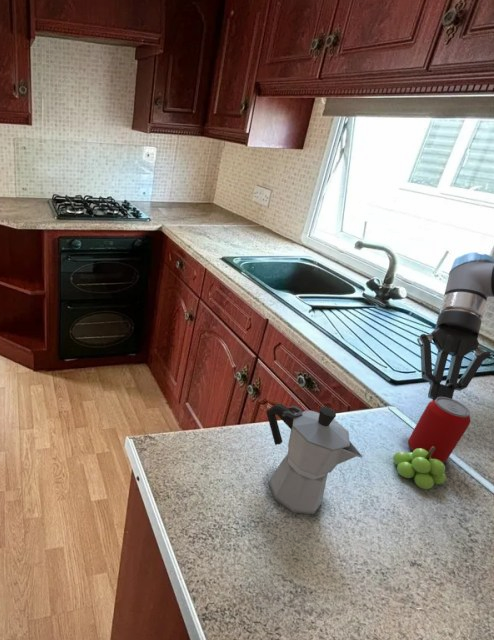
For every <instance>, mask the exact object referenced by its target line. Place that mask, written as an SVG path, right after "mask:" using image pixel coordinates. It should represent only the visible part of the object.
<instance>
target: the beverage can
mask: <svg viewBox="0 0 494 640" xmlns="http://www.w3.org/2000/svg"><path fill="white" fill-rule="evenodd" d="M432 400H433V399H432ZM432 400H431V401H429V402H428V404H427V405H426V407H425V409H424V410H423V412H422V414H421V415H420V418H419V420H418V421H417V423H416V425H415V427H414V429H413V430H412V432H411V434H410V436H409V438H408V439H407V440H408V441H407V444H408V446H409V448H410V449H411V450H412V452H413V451H414V450H415V449H418V448H422V449H425V450H426V451H428V452H429V450H430V449H431V447H435V450H434V452H433V454H432V455H431V459H437V460H440V461H441V462H442V463H445V462H447V460H448V459H449V458H450V456H451V455H452V453H453V452H454V450H455V448H456V447H457V446H458V444H459V442H460V440H461V439H462V437H463V436H464V434H465V432H466V431H467V429H468V428H469V426H470V424H471V410H470V409H469V408H468V407H467V406H466V405H464V404H463V403H462V402H460V401H458V400H456V399H453V398H452V399H450V398H447V397H438V398H436V399H435V400H433V401H432Z"/></svg>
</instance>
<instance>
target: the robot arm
mask: <svg viewBox="0 0 494 640" xmlns="http://www.w3.org/2000/svg"><path fill="white" fill-rule="evenodd" d="M489 297H491V298H494V258H493V256H491V255H489V254H487V253H478V252H476V251H475V252H473V251H472V252H466V253H463V254H460V255H458V256H457V257H456V258H455V259H454V261H453V262H452V266H451V268H450V271H449V273H448V278H447V282H446V286H445V291H444V294H443V298H442V302H441V304H440V309H439V314H438V315H437V320H436V324H435V327H434V329H433V330H432V332H431V333H429V334H426V333H422V334H421V335H419V336H418V337H417V338H416V342H417V343H418V345H419V348H420V367H421V368H420V370H421V373H420V374H421V378H422V379H423V380H426V381H427V382H429V383H428V384H429V389H428V392H427V397H428V399H431V401H433V400H435V399H436V398H438V397H447V398H450V399H453V398H454V393H455V391H463V390H464V389H465V390H466V388H468V386H469V384H470V383H471V382H472V380H473V378H474V377H475V375H476V374H477V372H478V370H479V368H481V365H482V363H483V362H484V361H486V360H487V359H489V358H490V357H491V356H492V355H491V354H492V353H491V352H489V351H484V350H483V348H481V347H480V342H479V335H480V331H481V326H482V319H483V318H484V313H485V309H486V306H487V305H486V304H487V301H488V298H489ZM432 343H433V344H434V346H435V348H436V350H437V353H436V359H435V364H434V368H433V362H432V360H433V359H432ZM472 352H473V354H472V358H473V359H472V360H471V361H470V363H469V364H468V366H467V367H466V368H465V370H464V372H463V373H462V375H461V377H460V373H461V368H462V364H463V360H464V358H465V356H467V355H468V354H470V353H472ZM449 356H450V362H449V363H450V364H449V367H448V372H447V376H446V380H445V384H442V381H443V376H444V373H445V369H446V365H447V361H448V358H449ZM459 377H460V378H459Z"/></svg>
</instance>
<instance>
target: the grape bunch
mask: <svg viewBox="0 0 494 640" xmlns="http://www.w3.org/2000/svg"><path fill="white" fill-rule="evenodd" d="M434 450H435V447H431V449H430V450H429V452H428V451H426V450H425V449H422V448H418V449H415V450H414V451H413V450H412V451H411V452H409V451H408V452H403V451H397V452H395V454H394V455H393V457H392V460H393V463H394V464H395V465H396V470H397V472H398V474H399V475H400V476H401V477H403V478H406V479H411V478H413V480H414V483H415V485H416V486H417V487H418V488H420V489H422V490H430V489H432V488H433V486H434V485H443V484H444V483H445V482H446V481H447V475H446V473H445V472H446V465H445V464H444V462H441V461H440V460H437V459H431V455H432V454H433V452H434Z"/></svg>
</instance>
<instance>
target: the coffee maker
mask: <svg viewBox="0 0 494 640" xmlns="http://www.w3.org/2000/svg"><path fill="white" fill-rule="evenodd" d="M276 415H277V416H278V417H279V419H280V420H281V421H282V422H283V423H284V424H286V426H287V427H288V428H289V429H290V434H289V438H288V443H287V454H286V455H285V456H284V457H283V459H282V460H281V462H280V463H279V465H278V466H277V468H276V470H275V471H274V473H273V474H272V476H271V477H270V479H269V480H268V482H267V483H268V485H269V488H270V491H271V494H272V496H273V499H274V500H275V501H277V502H278V503H279V504H281V505H282V506H283V507H285V508H286V509H288V511H290V512H291V513H292V514H293V513H295V514H304V515H314V514H315V513H316V512H317V511H318V509H319V508H320V507H321V505H322V504H323V499H324V494H325V488H326V484H327V479H328V476H329V475H328V474H329V473H332V471H334V469H335V468H336V467H337V466H338V465H340V464H342V463H345V462H347V461H349V460H352V459H354V458H356V457H357V458H363V455H362V454H361V453H360V452H359V450H358V449H357V447H355V445H354V444H353V443H352V442H351V440H350V431H349V430H347V429H346V428H345V427H344V426H343V425H342V424H340V423H339V422H338V421H337V420H336V419H335V418H336V417H337V413H336V411H335V410H334V409H332V408H330V407H328V406H321V407H319V412H317V411H314V410H311V409H308V410H305V411H302V408H300V407H299V406H296V405H291V406H289V407H287V406H285V405H283V404H280V403H275V404H274V405H273V406H271V407H270V408H268V409H267V410H266V416H267V420H268V425H269V427H270V431H271V435H272V440H273V443H274V445H275V446H277V445H281V444H282V443H283V439H282V438H283V437H282V435H281V430H280V427H279V423H278V420H277V416H276Z"/></svg>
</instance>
